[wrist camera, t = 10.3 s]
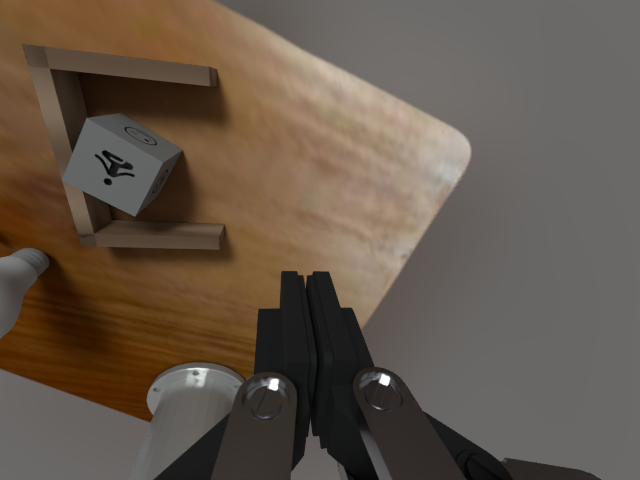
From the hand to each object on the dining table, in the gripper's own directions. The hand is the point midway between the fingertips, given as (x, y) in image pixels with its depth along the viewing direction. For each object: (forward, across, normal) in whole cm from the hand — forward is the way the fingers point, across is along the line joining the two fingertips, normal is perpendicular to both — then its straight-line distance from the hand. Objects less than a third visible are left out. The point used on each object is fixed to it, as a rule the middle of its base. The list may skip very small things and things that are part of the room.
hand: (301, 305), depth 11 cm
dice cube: (+19, +12, -1) cm, 23 cm away
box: (+19, +11, -1) cm, 22 cm away
